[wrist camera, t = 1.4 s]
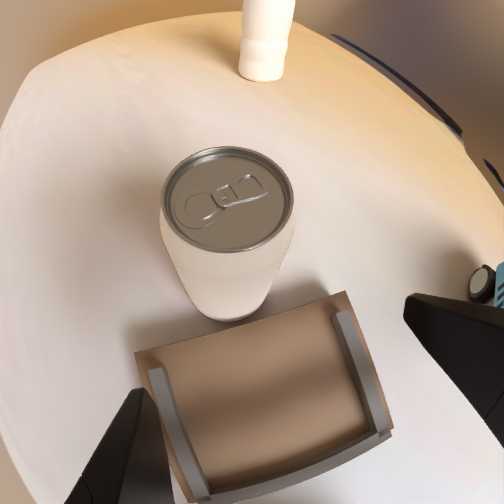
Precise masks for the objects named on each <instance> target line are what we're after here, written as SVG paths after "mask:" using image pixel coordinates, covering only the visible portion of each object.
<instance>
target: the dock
mask: <svg viewBox="0 0 504 504" xmlns="http://www.w3.org/2000/svg"><path fill="white" fill-rule="evenodd" d="M134 354H135V358H136V362H137V366H138V370H139V374H140V378H141V381H142V385H143V388H145V389H146V390H147V391H148V393H149V394H150V396H151V397H152V399H153V400H154V402H155V403H156V405H157V408H158V412H159V417H160V422H161V427H162V432H163V436H164V440H165V445H166V449H167V455H168V460H169V462H170V465H171V467H172V469H173V472H174V474H175V476H176V478H177V480H178V483H179V485H180V487H181V489H182V491H183V493H184V495H185V497H186V499H187V501H188V503H195V502H198V504H228V503H233V502H237V501H242V500H246V499H250V498H253V497H257V496H261V495H264V494H268V493H271V492H274V491H277V490H280V489H283V488H286V487H289V486H292V485H295V484H297V483H300V482H303V481H305V480H308V479H310V478H313V477H315V476H318V475H320V474H322V473H325V472H327V471H329V470H331V469H333V468H336V467H338V466H340V465H342V464H344V463H346V462H348V461H350V460H352V459H354V458H356V457H358V456H359V455H361V454H363V453H365V452H367V451H369V450H370V449H372V448H374V447H375V446H377V445H379V444H381V443H382V442H384V441H385V440H387V439H389V438H390V437H392V435H391V431H390V430H391V429H393V428H394V426H393V422H392V419H391V416H390V412H389V409H388V406H387V403H386V399H385V396H384V393H383V390H382V387H381V384H380V381H379V378H378V375H377V372H376V369H375V366H374V364H373V361H372V358H371V355H370V352H369V350H368V347H367V344H366V342H365V339H364V336H363V334H362V331H361V328H360V326H359V323H358V321H357V318H356V316H355V313H354V311H353V308H352V306H351V303H350V301H349V298H348V296H347V294H346V291H342V292H339V293H336V294H334V295H331V296H328V297H326V298H323V299H320V300H317V301H314V302H311V303H309V304H306V305H303V306H300V307H297V308H294V309H291V310H288V311H285V312H282V313H279V314H276V315H273V316H269V317H266V318H263V319H260V320H257V321H253V322H250V323H247V324H243V325H240V326H237V327H233V328H230V329H226V330H223V331H219V332H216V333H212V334H208V335H205V336H201V337H197V338H193V339H189V340H185V341H182V342H178V343H173V344H169V345H165V346H161V347H157V348H152V349H148V350H143V351H139V352H134Z"/></svg>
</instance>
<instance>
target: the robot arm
mask: <svg viewBox="0 0 504 504" xmlns="http://www.w3.org/2000/svg"><path fill="white" fill-rule="evenodd" d="M403 318H404V321H405V322H406V324H407V325H408V326H409V328H410V329H411V330H412V332H413V333H414V334H415V336H416V337H417V338H418V340H419V341H420V343H421V344H422V345H423V347H424V348H425V349H426V351H427V352H428V353H429V354H430V355H431V356H432V358H433V359H434V360H435V361H436V362H437V363H438V365H439V366H440V367H441V368H442V369H443V370H444V372H445V373H446V374H447V375H448V376H449V378H450V379H451V380H452V381H453V382H454V384H455V385H456V386H457V387H458V388H459V390H460V391H461V392H462V393H463V395H464V396H465V397H466V398H467V400H468V401H469V402H470V403H471V405H472V406H473V407H474V408H475V410H476V411H477V412H478V414H479V415H480V416H481V418H482V419H483V420H484V422H485V423H486V425H487V426H488V427H489V429H490V430H491V431H492V433H493V434H494V435H495V437H496V438H497V440H498V441H499V442H500V444H501V445H502V447H503V448H504V308H500V307H499V308H498V307H494V306H488V305H482V304H477V303H471V302H465V301H459V300H454V299H448V298H443V297H437V296H432V295H426V294H420V293H413V294H411V295H409V296H408V297H407V298H406V300H405V307H404V313H403ZM64 504H175V502H174V496H173V490H172V484H171V477H170V470H169V462H168V455H167V449H166V445H165V440H164V436H163V432H162V427H161V422H160V417H159V412H158V408H157V405H156V403H155V402H154V400H153V399H152V397H151V396H150V394H149V393H148V391H147V390H146V389H145V388H143V387H142V388H136V389H132V390H131V391H130V393H129V394H128V396H127V398H126V399H125V401H124V403H123V404H122V406H121V407H120V409H119V411H118V412H117V414H116V416H115V417H114V419H113V421H112V422H111V424H110V426H109V427H108V429H107V431H106V433H105V434H104V436H103V438H102V439H101V441H100V443H99V445H98V446H97V448H96V450H95V451H94V453H93V455H92V457H91V458H90V460H89V462H88V464H87V465H86V467H85V469H84V471H83V473H82V476H80V478H79V479H78V481H77V483H76V485H75V487H74V488H73V490H72V492H71V493H70V495H69V497H68V498H67V500H66V501H65V503H64Z"/></svg>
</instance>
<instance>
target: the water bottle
mask: <svg viewBox="0 0 504 504" xmlns="http://www.w3.org/2000/svg"><path fill="white" fill-rule="evenodd" d="M294 7H295V0H244V3H243V14H242V37H241V41H240V52H241V54H240V58H239V67H238V70H239V73H240V74H241V75H242V76H243V77H244V78H246V79H248V80H251V81H255V82H272V81H276V80H278V79H279V78H281V76H282V74H283V70H284V58H285V55H286V52H287V46H288V41H287V38H288V35H289V32H290V28H291V23H292V18H293V13H294Z"/></svg>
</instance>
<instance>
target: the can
mask: <svg viewBox="0 0 504 504" xmlns="http://www.w3.org/2000/svg"><path fill="white" fill-rule="evenodd" d="M293 203H294V196H293V190H292V186H291V183H290V181H289V179H288V177H287V176H286V174H285V173H284V171H283V170H282V169H281V168H280V167H279V166H278V165H277V164H276V163H275V162H274V161H272V160H271V159H270V158H268V157H266V156H265V155H263V154H261V153H259V152H256V151H253V150H250V149H246V148H242V147H234V146H222V147H214V148H209V149H205V150H202V151H199V152H197V153H195V154H192V155H191V156H189V157H187V158H186V159H184V160H183V161H181V162H180V163H179V164H178V165H177V166H176V167H175V168H174V169H173V170H172V171H171V173H170V174H169V176H168V177H167V179H166V181H165V183H164V186H163V189H162V194H161V210H160V219H159V221H160V230H161V234H162V238H163V241H164V243H165V246H166V248H167V251H168V253H169V255H170V258H171V260H172V262H173V264H174V266H175V269H176V271H177V273H178V275H179V277H180V279H181V281H182V283H183V285H184V287H185V289H186V291H187V293H188V295H189V297H190V299H191V301H192V302H193V304H194V305H195V306H196V307H197V309H198V310H199V311H200V312H202V313H203V314H204V315H206V316H207V317H209V318H211V319H214V320H217V321H223V322H232V321H238V320H241V319H244V318H246V317H248V316H250V315H251V314H253V313H254V312H255V311H256V310H257V309H258V308H259V307H260V306H261V304H262V303H263V301H264V299H265V297H266V295H267V293H268V291H269V289H270V287H271V285H272V283H273V280H274V278H275V276H276V274H277V272H278V269H279V267H280V265H281V263H282V260H283V258H284V256H285V254H286V251H287V249H288V247H289V244H290V241H291V239H292V235H293V231H294V226H295V212H294V207H293Z"/></svg>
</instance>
